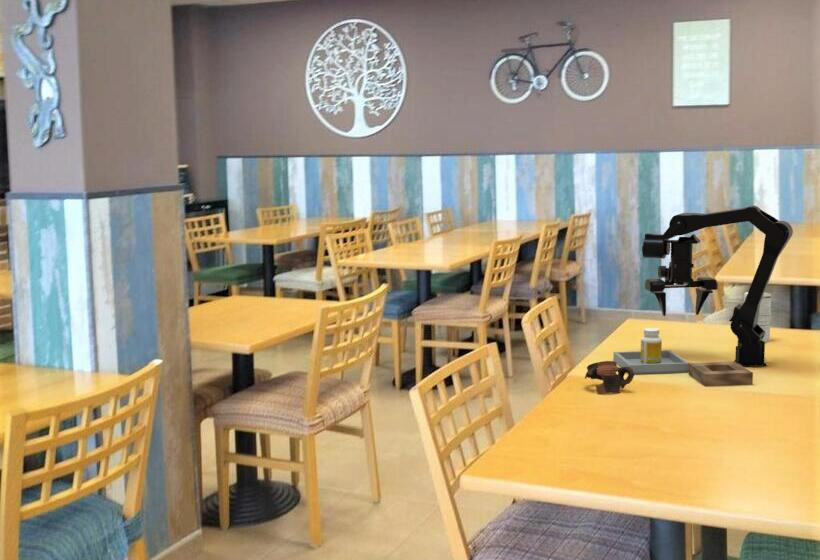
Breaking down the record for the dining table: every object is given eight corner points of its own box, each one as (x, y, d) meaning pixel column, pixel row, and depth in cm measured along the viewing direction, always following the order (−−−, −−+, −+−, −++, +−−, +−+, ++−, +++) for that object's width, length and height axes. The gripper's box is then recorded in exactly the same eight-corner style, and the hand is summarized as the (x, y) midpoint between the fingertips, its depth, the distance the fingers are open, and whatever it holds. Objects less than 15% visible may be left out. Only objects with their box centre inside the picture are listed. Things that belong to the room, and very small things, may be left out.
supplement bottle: (636, 364, 262) (636, 329, 261) (648, 361, 266) (649, 326, 264) (653, 367, 258) (653, 332, 257) (665, 364, 262) (665, 329, 260)
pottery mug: (585, 396, 236) (579, 364, 239) (593, 404, 244) (588, 372, 247) (634, 386, 232) (628, 353, 235) (641, 394, 241) (635, 362, 244)
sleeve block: (734, 372, 253) (734, 361, 253) (752, 384, 241) (752, 372, 241) (688, 374, 253) (688, 363, 252) (704, 386, 241) (705, 374, 240)
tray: (670, 358, 270) (670, 350, 270) (689, 372, 255) (689, 363, 254) (613, 360, 270) (613, 352, 269) (629, 374, 254) (629, 365, 253)
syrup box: (741, 339, 293) (742, 292, 290) (758, 338, 294) (759, 290, 292) (753, 343, 287) (755, 294, 285) (770, 341, 289) (772, 293, 287)
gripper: (704, 254, 276) (703, 309, 278) (639, 256, 275) (638, 311, 277) (719, 259, 265) (717, 316, 267) (651, 261, 264) (650, 318, 266)
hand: (680, 315), depth 270 cm, fingers open, 9 cm apart
